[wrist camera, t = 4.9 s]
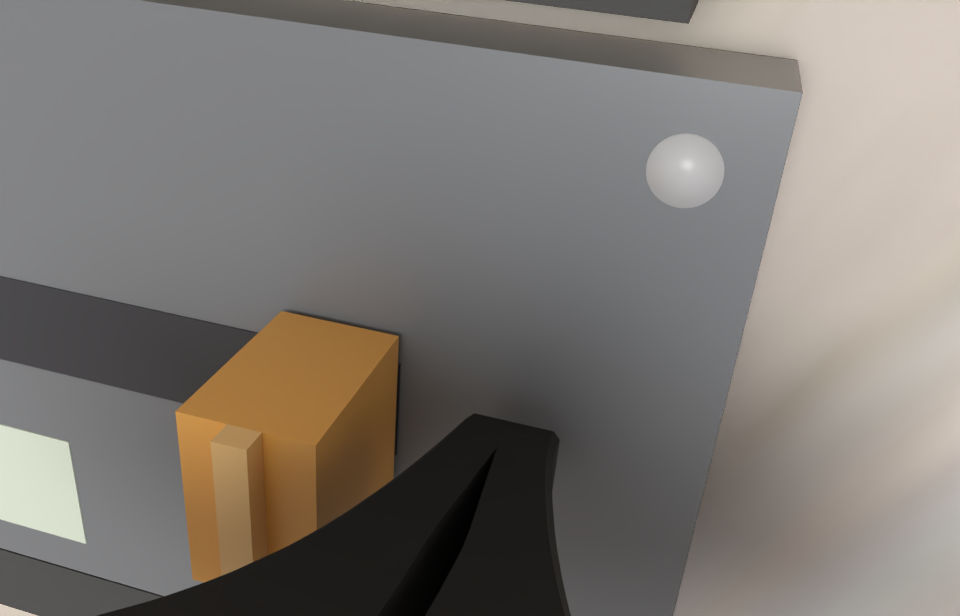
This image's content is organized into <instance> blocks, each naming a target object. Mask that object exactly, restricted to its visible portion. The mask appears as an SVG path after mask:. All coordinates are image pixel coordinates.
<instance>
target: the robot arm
mask: <svg viewBox="0 0 960 616" xmlns="http://www.w3.org/2000/svg"><path fill="white" fill-rule="evenodd" d="M559 443H560V439H559V438H558V436H557V435H556V434H555V432H554V431H550V430H546V429H541V428H537V427H532V426H528V425H524V424H519V423H515V422H511V421H506V420H502V419H498V418H493V417H489V416H485V415H480V414H476V413H474V414H472V415H471V416H469V417H467V418H466V419H465V420H464V421H463V422H461V423H460V424H459V425H458V426H457V427H456V428H455V429H454V430H452V431H451V432H450V433H449V434H448V435H447V436H446V437H445V438H443V439H442V440H441V441H440V442H439V443H438V444H436V445H435V446H434V447H433V448H432V449H430V450H429V451H428V452H427V453H426V454H424V455H423V456H422V457H421V458H420V459H418V460H417V461H416V462H414V463H413V464H412V465H411V466H409V467H408V468H407V469H405V470H404V471H403V472H402V473H400V474H399V475H398V476H396V477H395V478H394V479H393V480H391V481H390V482H389V483H387V484H386V485H385V486H383V487H382V488H380V489H379V490H378V491H376V492H375V493H373V494H372V495H370V496H369V497H367V498H366V499H364V500H363V501H361V502H360V503H359V504H357V505H356V506H354V507H353V508H351V509H350V510H348V511H347V512H345V513H344V514H342V515H341V516H339V517H337V518H336V519H334V520H333V521H331V522H329V523H328V524H326V525H324V526H323V527H321V528H319V529H318V530H316V531H314V532H312V533H310V534H309V535H307V536H305V537H303V538H301V539H300V540H298V541H296V542H294V543H292V544H290V545H289V546H287V547H285V548H282V549H280V550H278V551H276V552H274V553H272V554H270V555H267V556H265V557H263V558H261V559H259V560H257V561H254V562H252V563H250V564H248V565H246V566H243V567H241V568H239V569H237V570H235V571H232V572H230V573H227V574H225V575H222V576H220V577H217V578H214V579H212V580H209V581H207V582H204V583H201V584H199V585H196V586H193V587H190V588H187V589H184V590H181V591H179V592H176V593H173V594H170V595H167V596H164V597H161V598H157V599H154V600H151V601H148V602H144V603H140V604H137V605H133V606H130V607H126V608H122V609H119V610H115V611H111V612H108V613H104V614H100V615H97V616H571V614H570V610H569V606H568V602H567V598H566V594H565V589H564V585H563V580H562V575H561V569H560V563H559V557H558V551H557V544H556V536H555V527H554V514H553V501H552V490H553V483H554V476H555V470H556V463H557V456H558V449H559Z"/></svg>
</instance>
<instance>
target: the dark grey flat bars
mask: <svg viewBox="0 0 960 616" xmlns="http://www.w3.org/2000/svg"><path fill="white" fill-rule="evenodd" d="M507 1H515V2H523V3H531V4H539V5H547V6H554V7H562V8H570V9H578V10H586V11H594V12H602V13H610V14H617V15H625V16H633V17H641V18H649V19H657V20H665V21H673V22H680V23H688V24H689V21H690V19H691V17H692V15H693V12H694V10H695V8H696V6H697V4H698V0H507ZM161 597H164V596H162V595H158V594H155V593H152V592H148V591H145V590H141V589H138V588H135V587H131V586H128V585H124V584H121V583H118V582H114V581H111V580H107V579H104V578H101V577H97V576H94V575H91V574H87V573H84V572H80V571H77V570H74V569H70V568H67V567H63V566H60V565H57V564H53V563H50V562H46V561H43V560H40V559H36V558H33V557H29V556H26V555H23V554H19V553H16V552H12V551H9V550H6V549H2V548H0V604H3V605H6V606H9V607H12V608H16V609H19V610H22V611H25V612H29V613H32V614H35V615H38V616H97V615H100V614H104V613H108V612H111V611H115V610H119V609H122V608H126V607H130V606H133V605H137V604H140V603H144V602H148V601H151V600H154V599H157V598H161Z"/></svg>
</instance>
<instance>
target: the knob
mask: <svg viewBox="0 0 960 616" xmlns="http://www.w3.org/2000/svg"><path fill="white" fill-rule="evenodd" d="M398 347H399V336H396V335H392V334H387V333H382V332H378V331H373V330H368V329H364V328H359V327H354V326H349V325H345V324H340V323H335V322H331V321H326V320H321V319H317V318H312V317H307V316H303V315H298V314H293V313H288V312H284V311H281V312H280V313H279V314H278V315H277V316H276V317H275V318H274V319H272V320H271V321H270V322H269V323H268V324H267V325H266V326H265V327H264V328H263V329H262V330H261V331H260V332H259V333H258V334H257V335H256V336H254V337H253V338H252V339H251V340H250V341H249V342H248V343H247V344H246V345H245V346H244V347H243V348H242V349H241V350H240V351H239V352H238V353H236V354H235V355H234V356H233V357H232V358H231V359H230V360H229V361H228V362H227V363H226V364H225V365H224V366H223V367H222V368H221V369H220V370H219V371H217V372H216V373H215V374H214V375H213V376H212V377H211V378H210V379H209V380H208V381H207V382H206V383H205V384H204V385H203V386H202V387H201V388H199V389H198V390H197V391H196V392H195V393H194V394H193V395H192V396H191V397H190V398H189V399H188V400H187V401H186V402H185V403H184V404H183V405H181V406H180V407H179V408H178V409H177V410H176V411H175V413H176V423H177V432H178V442H179V452H180V462H181V471H182V481H183V491H184V500H185V510H186V520H187V530H188V539H189V549H190V559H191V569H192V578H193V580H196V581H200V582H203V583H204V582H207V581H209V580H212V579H214V578H217V577H220V576H222V575H225V574H227V573H230V572H232V571H235V570H237V569H239V568H241V567H243V566H246V565H248V564H250V563H252V562H254V561H257V560H259V559H261V558H263V557H265V556H267V555H270V554H272V553H274V552H276V551H278V550H280V549H282V548H285V547H287V546H289V545H290V544H292V543H294V542H296V541H298V540H300V539H301V538H303V537H305V536H307V535H309V534H310V533H312V532H314V531H316V530H318V529H319V528H321V527H323V526H324V525H326V524H328V523H329V522H331V521H333V520H334V519H336V518H337V517H339V516H341V515H342V514H344V513H345V512H347V511H348V510H350V509H351V508H353V507H354V506H356V505H357V504H359V503H360V502H361V501H363V500H364V499H366V498H367V497H369V496H370V495H372V494H373V493H375V492H376V491H378V490H379V489H380V488H382V487H383V486H385V485H386V484H387V483H389V482H390V481H391V480H393V477H394V451H395V425H396V399H397V373H398Z"/></svg>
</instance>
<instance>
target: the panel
mask: <svg viewBox="0 0 960 616" xmlns="http://www.w3.org/2000/svg"><path fill="white" fill-rule="evenodd" d="M801 97H802V87H801V80H800V74H799V68H798V62H797V60H791V59H784V58H776V57H769V56H761V55H754V54H746V53H739V52H731V51H723V50H716V49H708V48H701V47H693V46H686V45H678V44H670V43H663V42H655V41H648V40H640V39H633V38H625V37H618V36H610V35H602V34H595V33H587V32H580V31H572V30H565V29H557V28H549V27H542V26H534V25H527V24H519V23H512V22H504V21H496V20H489V19H481V18H474V17H466V16H459V15H451V14H444V13H436V12H428V11H421V10H413V9H406V8H398V7H391V6H383V5H375V4H368V3H360V2H353V1H345V0H0V548H2V549H6V550H9V551H12V552H16V553H19V554H23V555H26V556H29V557H33V558H36V559H40V560H43V561H46V562H50V563H53V564H57V565H60V566H63V567H67V568H70V569H74V570H77V571H80V572H84V573H87V574H91V575H94V576H97V577H101V578H104V579H107V580H111V581H114V582H118V583H121V584H124V585H128V586H131V587H135V588H138V589H141V590H145V591H148V592H152V593H155V594H158V595H162V596H167V595H170V594H173V593H176V592H179V591H181V590H184V589H187V588H190V587H193V586H196V585H199V584H201V583H203V582H200V581H196V580H193V578H192V569H191V559H190V549H189V539H188V530H187V520H186V510H185V500H184V491H183V481H182V471H181V462H180V452H179V442H178V432H177V423H176V413H175V411H176V410H177V409H178V408H179V407H180V406H181V405H183V404H184V403H185V402H186V401H187V400H188V399H189V398H190V397H191V396H192V395H193V394H194V393H195V392H196V391H197V390H198V389H199V388H201V387H202V386H203V385H204V384H205V383H206V382H207V381H208V380H209V379H210V378H211V377H212V376H213V375H214V374H215V373H216V372H217V371H219V370H220V369H221V368H222V367H223V366H224V365H225V364H226V363H227V362H228V361H229V360H230V359H231V358H232V357H233V356H234V355H235V354H236V353H238V352H239V351H240V350H241V349H242V348H243V347H244V346H245V345H246V344H247V343H248V342H249V341H250V340H251V339H252V338H253V337H254V336H256V335H257V334H258V333H259V332H260V331H261V330H262V329H263V328H264V327H265V326H266V325H267V324H268V323H269V322H270V321H271V320H272V319H274V318H275V317H276V316H277V315H278V314H279V313H280V312H281V311H284V312H288V313H293V314H298V315H303V316H307V317H312V318H317V319H321V320H326V321H331V322H335V323H340V324H345V325H349V326H354V327H359V328H364V329H368V330H373V331H378V332H382V333H387V334H392V335H396V336H399V347H398V373H397V399H396V425H395V451H394V477H393V479H394V478H395V477H396V476H398V475H399V474H400V473H402V472H403V471H404V470H405V469H407V468H408V467H409V466H411V465H412V464H413V463H414V462H416V461H417V460H418V459H420V458H421V457H422V456H423V455H424V454H426V453H427V452H428V451H429V450H430V449H432V448H433V447H434V446H435V445H436V444H438V443H439V442H440V441H441V440H442V439H443V438H445V437H446V436H447V435H448V434H449V433H450V432H451V431H452V430H454V429H455V428H456V427H457V426H458V425H459V424H460V423H461V422H463V421H464V420H465V419H466V418H467V417H469V416H471V415H472V414H474V413H476V414H480V415H485V416H489V417H493V418H498V419H502V420H506V421H511V422H515V423H519V424H524V425H528V426H532V427H537V428H541V429H546V430H550V431H554V432H555V434H556V435H557V436H558V438H559V439H560V443H559V449H558V456H557V463H556V470H555V476H554V483H553V490H552V501H553V514H554V527H555V536H556V544H557V551H558V557H559V563H560V569H561V575H562V580H563V585H564V589H565V594H566V598H567V602H568V606H569V610H570V614H571V616H673V612H674V608H675V604H676V600H677V596H678V592H679V588H680V584H681V580H682V576H683V572H684V568H685V564H686V560H687V556H688V552H689V548H690V544H691V540H692V536H693V532H694V528H695V524H696V520H697V516H698V512H699V508H700V504H701V500H702V496H703V492H704V488H705V484H706V480H707V476H708V471H709V467H710V463H711V459H712V455H713V451H714V447H715V443H716V439H717V435H718V431H719V427H720V423H721V419H722V415H723V411H724V407H725V403H726V399H727V395H728V391H729V387H730V383H731V379H732V375H733V371H734V367H735V363H736V359H737V355H738V351H739V347H740V343H741V339H742V335H743V330H744V326H745V322H746V318H747V314H748V310H749V306H750V302H751V298H752V294H753V290H754V286H755V282H756V278H757V274H758V270H759V266H760V262H761V258H762V254H763V250H764V246H765V242H766V238H767V234H768V230H769V226H770V222H771V218H772V214H773V210H774V206H775V202H776V198H777V193H778V189H779V185H780V181H781V177H782V173H783V169H784V165H785V161H786V157H787V153H788V149H789V145H790V141H791V137H792V133H793V129H794V125H795V121H796V117H797V113H798V109H799V105H800V101H801Z"/></svg>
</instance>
